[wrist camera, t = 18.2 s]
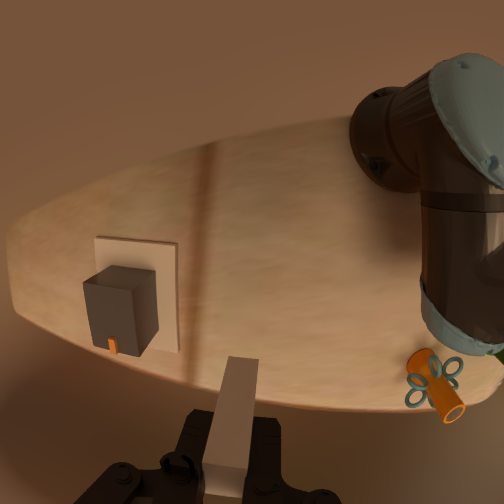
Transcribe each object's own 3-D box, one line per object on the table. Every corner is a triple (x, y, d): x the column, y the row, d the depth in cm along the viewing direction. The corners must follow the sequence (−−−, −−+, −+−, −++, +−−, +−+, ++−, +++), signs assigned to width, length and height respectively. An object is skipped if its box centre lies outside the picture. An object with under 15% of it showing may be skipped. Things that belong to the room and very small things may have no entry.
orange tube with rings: (382, 381, 44) (407, 440, 29) (407, 333, 41) (447, 388, 26) (429, 384, 44) (459, 434, 29) (454, 341, 41) (494, 386, 26)
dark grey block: (111, 265, 40) (80, 283, 32) (155, 270, 40) (129, 292, 31) (117, 321, 43) (91, 347, 34) (159, 329, 42) (137, 359, 34)
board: (98, 236, 40) (71, 247, 33) (177, 243, 40) (159, 257, 33) (108, 334, 45) (89, 355, 38) (180, 349, 44) (166, 375, 37)
